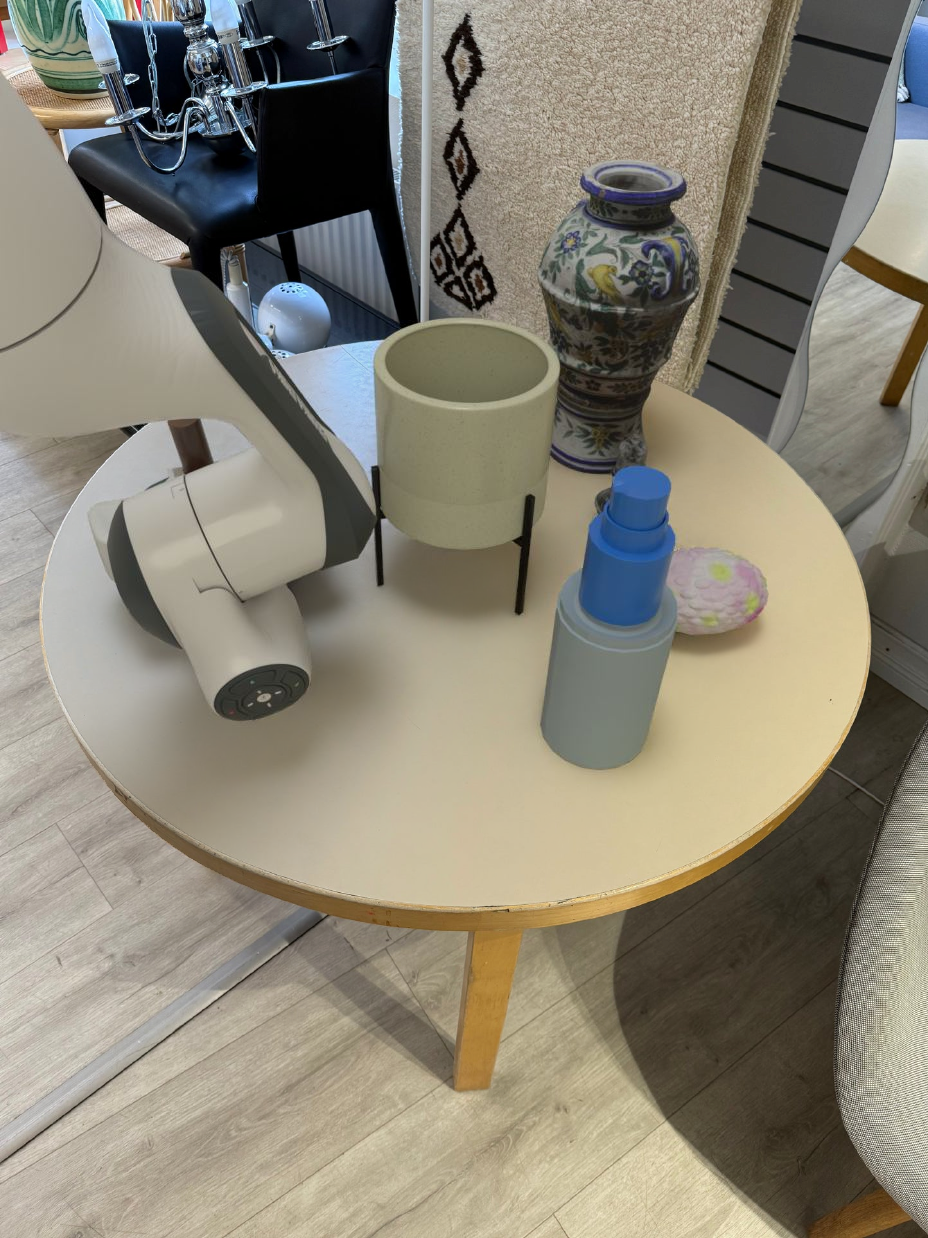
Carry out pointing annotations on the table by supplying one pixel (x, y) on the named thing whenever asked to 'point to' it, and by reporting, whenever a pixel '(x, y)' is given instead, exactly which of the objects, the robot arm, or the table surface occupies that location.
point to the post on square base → (191, 443)
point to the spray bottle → (613, 628)
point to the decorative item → (715, 590)
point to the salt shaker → (624, 465)
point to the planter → (463, 435)
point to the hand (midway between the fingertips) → (200, 469)
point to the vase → (614, 304)
